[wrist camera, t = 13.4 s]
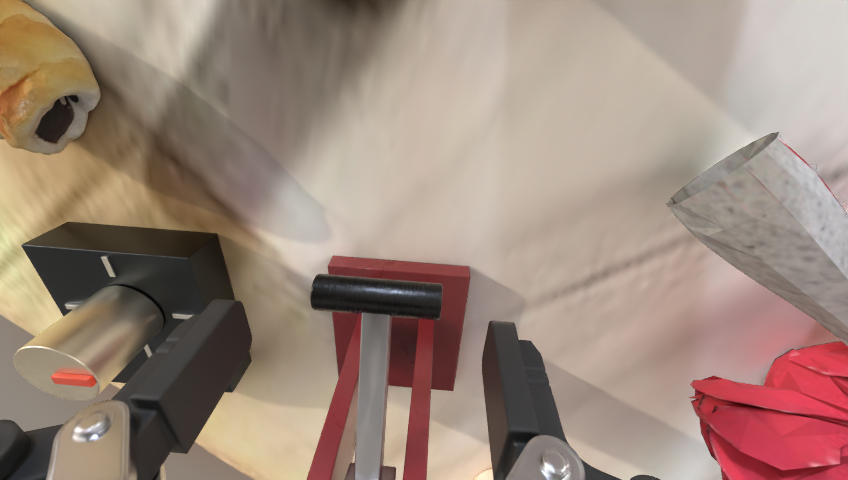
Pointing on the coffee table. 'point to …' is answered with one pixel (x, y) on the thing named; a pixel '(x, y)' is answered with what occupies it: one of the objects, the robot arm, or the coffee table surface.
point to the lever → (374, 350)
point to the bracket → (394, 362)
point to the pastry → (41, 82)
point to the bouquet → (796, 283)
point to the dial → (90, 344)
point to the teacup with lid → (485, 475)
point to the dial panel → (134, 273)
